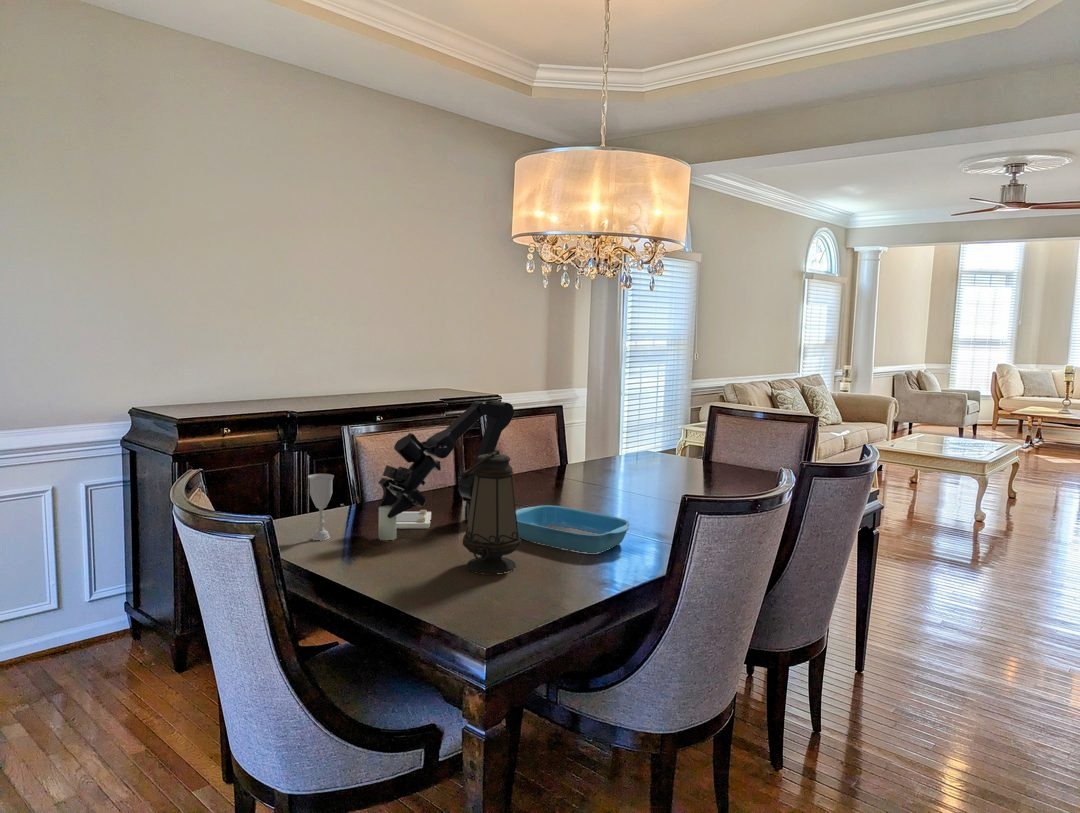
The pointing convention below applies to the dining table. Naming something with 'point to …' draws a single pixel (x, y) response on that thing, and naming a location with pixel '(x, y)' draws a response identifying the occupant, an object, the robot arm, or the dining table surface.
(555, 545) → the casserole dish
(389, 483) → the robot arm
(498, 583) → the dining table surface
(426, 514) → the display tile
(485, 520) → the lantern
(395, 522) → the sage green capsule
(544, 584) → the dining table surface
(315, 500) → the chalice
